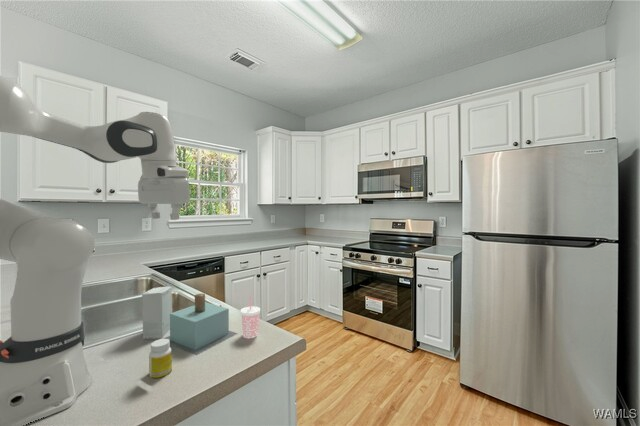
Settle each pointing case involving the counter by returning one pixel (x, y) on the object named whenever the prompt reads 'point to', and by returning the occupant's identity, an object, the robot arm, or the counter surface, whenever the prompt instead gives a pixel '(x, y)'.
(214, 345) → the mat
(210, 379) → the counter surface
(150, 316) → the skincare box
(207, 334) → the cover
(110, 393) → the counter surface
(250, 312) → the beverage cup
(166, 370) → the supplement bottle
